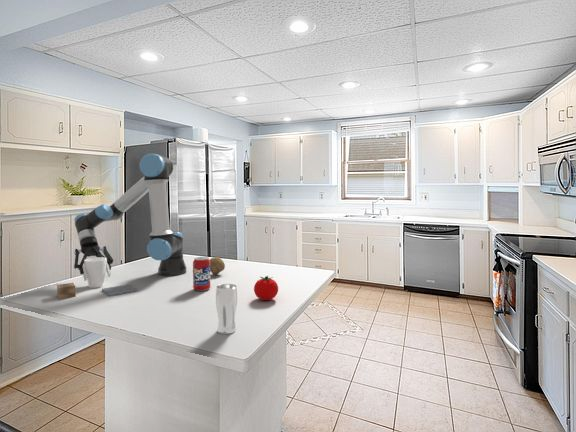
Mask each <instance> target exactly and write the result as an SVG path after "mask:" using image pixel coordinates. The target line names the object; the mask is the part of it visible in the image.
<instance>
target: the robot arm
mask: <svg viewBox="0 0 576 432" xmlns="http://www.w3.org/2000/svg"><path fill="white" fill-rule="evenodd" d="M139 170H140V172H141V173H142V174H143V177H141V178H140V179H139V180H138V181H137V182H136V183H134V184H133V185H132V186H131V187H130V188H129V189H128V190H126V191H125V192H124V193H123V194H122V195H121V196H120V197H119V198H118V199H116V200H115V201H114V202H113V203H112V204H111V205H108V204H106V203H102V204H100V205H98V206H96V207H95V208H94V209H92V211H90V212H89V213H80V214H77V215H76V216H75V218H74V227H75V229H76V232H77V237H78V242H79V246H80V249H78V248H75V249H74V255H75V256H74V257H75V258H74V265H73V269H75V270H79V273H80V275H82V276H83V279H84V281H85V282H86V281H88V280H87V274H86V270H85V265H84V260H85V259H88V257H89V258H91V257H95V258H97V257H104V258H107V263H106V275H107V278H110V277H111V273H112V272H111V270H112V264H113V263H114V259H113V257H112V256H111V254H110V252H109V251H108V248H107V246H106V245H105V246H103V247H100V245H99V242H98V240H97V236H96V233H95V228H96V227H98V226H99V225H101V224H103V223H104V222H109V221H110V222H111V221H118V220H120V219H122V218H123V217H124V215H125V214H124V213H125V212H126V211H128V210H129V209H130V208H132V206H134V205H135V204H136V203H137V202H138V201H140V200H141V199H142V198H143V197H144V196H145V195H147V194H148V198H149V210H150V221H151V232H150V233H149V242H148V243H147V246H146V251H147V255H148V256H149V257H150V258H152V259H153V260H155V261H160V262H159V266H158V269H157V274H158V275H159V276H165V277H166V276H170V277H171V276H180V275H183V274H185V273H187V266H186V263H185V260H184V236H183V233H182V232H177V231H175V232H173V230H171V227H170V217H169V215H170V214H169V206H168V204H169V203H168V192H167V183H168V182H169V178H170V176H171V175H172V173H173V172H174V163H173V162H172V160H171V159H170V158H169V157H167V156H165V155H161V154H157V153H148V154H145V155H144V156H143V157H142V158H141V159H140V161H139ZM102 253H103V254H102ZM80 254H83V256H82V259H81V261H80V263H79V258H80Z"/></svg>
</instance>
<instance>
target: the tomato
mask: <svg viewBox="0 0 576 432" xmlns="http://www.w3.org/2000/svg"><path fill="white" fill-rule="evenodd" d="M273 278H274V277H273V276H272V277H269V275H266V276H264V277H263V276H260V279H258V280H257V281H256V282H255V283H254V286H253V291H254V294H255V296H256V297H257V298H258V299H260V300H262V301H270V300H272V299H274V298H276V297H277V295H278V292H279V286H278V283H277V282H276V280H274V279H273Z"/></svg>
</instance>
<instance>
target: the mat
mask: <svg viewBox="0 0 576 432" xmlns="http://www.w3.org/2000/svg"><path fill="white" fill-rule="evenodd" d="M101 291H102V292H104V293H105V294H106V295H107V296H109V297H114V296H119V295H124V294H130V293H131V294H132V293H134V292H136V293H137V292H139V289H138V288H137V287H135V286H134V285H132V284H130V283H128V284H121V285H116V286H110V287H106V288H105V287H103V288H102V289H101Z"/></svg>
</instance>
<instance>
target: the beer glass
mask: <svg viewBox="0 0 576 432" xmlns="http://www.w3.org/2000/svg"><path fill="white" fill-rule="evenodd" d="M215 305H216V313H217V317H218V318H217V319H218V325H217V331H216V332H217V333H218V334H220V335H230V334H233V333H235V332H236V330H237V328H236V322H235V319H236V318H235V317H236V313H237V305H238V291H237V285H236V284H235V283H222V284H221V283H220V284H218V285H216V288H215Z"/></svg>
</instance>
